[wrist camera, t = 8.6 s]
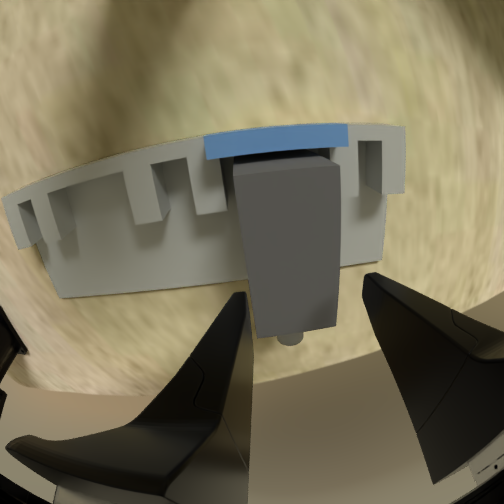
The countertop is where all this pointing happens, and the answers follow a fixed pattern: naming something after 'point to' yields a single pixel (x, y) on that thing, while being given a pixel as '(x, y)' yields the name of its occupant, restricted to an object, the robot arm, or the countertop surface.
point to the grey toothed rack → (192, 207)
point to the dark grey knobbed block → (290, 240)
